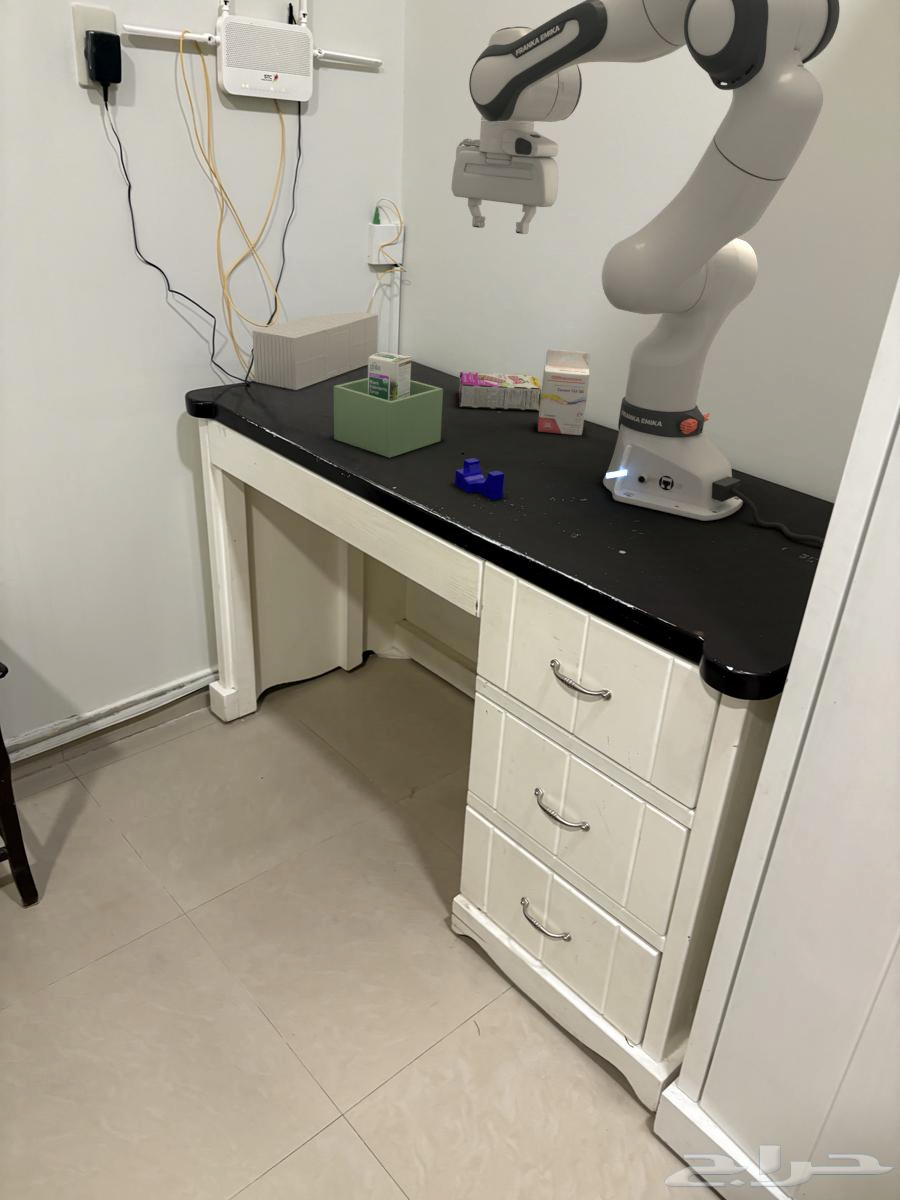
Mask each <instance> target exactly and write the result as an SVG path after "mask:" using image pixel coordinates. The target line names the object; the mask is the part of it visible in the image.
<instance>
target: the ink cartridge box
mask: <svg viewBox="0 0 900 1200" xmlns="http://www.w3.org/2000/svg"><path fill="white" fill-rule="evenodd" d="M567 356H569V357H570V358H574V360H570V359H562V357H563V358H564V357H567ZM590 356H591V354H590V353H589V352H588V351H576V350H565V349H554V348H553V349H552V348H548V349H547V350H546V355H545V365H544V367H543V373H542V374H543V375H542V383H541V399H540V408H539V411H538V419H537V432H538V433H539V432H541V433H551V434H562V435H570V436H571V435H573V436H582V435H583V431H584V422H585V416H586V415H585V414H586V407H587V399H588V391H589V384H590V369H589V363H590Z"/></svg>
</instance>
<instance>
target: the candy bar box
mask: <svg viewBox="0 0 900 1200" xmlns="http://www.w3.org/2000/svg"><path fill="white" fill-rule="evenodd" d="M527 375H528V374H519V373H518V374H516V373H496V372H495V373H493V372H473V371H472V372H471V371H459V381H458V404H459V406H458V407H459V408H468V409H470V408H471V409H492V410H511V411H513V410H514V411H533V412H534V411H535V412H539V409H540V400H541V391H542V386H541V384H540V381H539V378H538V379H536V378H534V377H531V376H527Z"/></svg>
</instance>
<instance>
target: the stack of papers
mask: <svg viewBox="0 0 900 1200" xmlns="http://www.w3.org/2000/svg"><path fill="white" fill-rule="evenodd" d="M308 316H309V317H308ZM308 316H304V317H300V318H296V319H292V320H289V321H285V322H280V323H276V324H271V325H269V326H265V327H261V328H256V329H254V330H253V329H252V330H251V331H252V332H251V333H252V349H253V351H252V352H253V369H254V371H253V372H254V382H256V383H259V384H262V385H263V384H264V385H268V386H273V387H279V388H283V389H284V388H285V389H288V390H293V391H298V390H301V389H303V388H306V387H309V386H312V385H315V384H319V383H321V382H323V381H327V380H329V379H331V378H334V377H337V376H340V375H342V374H345V373H348V372H351V371H354V370H356V369H359V368H362V367H365V366H368V358H369V357H370V356H372V355H374V354H376V353H378V342H379V341H378V339H379V338H378V334H379V333H378V331H379V330H378V329H379V328H378V327H379V317H378V316H379V314H376V313H370V312H363V311H358V312H352V313H343V314H342V313H339V314H334V315H333V314H330V315H320V316H311V315H308Z"/></svg>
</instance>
